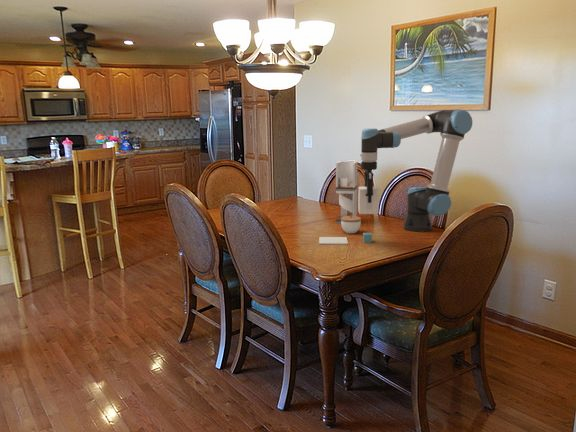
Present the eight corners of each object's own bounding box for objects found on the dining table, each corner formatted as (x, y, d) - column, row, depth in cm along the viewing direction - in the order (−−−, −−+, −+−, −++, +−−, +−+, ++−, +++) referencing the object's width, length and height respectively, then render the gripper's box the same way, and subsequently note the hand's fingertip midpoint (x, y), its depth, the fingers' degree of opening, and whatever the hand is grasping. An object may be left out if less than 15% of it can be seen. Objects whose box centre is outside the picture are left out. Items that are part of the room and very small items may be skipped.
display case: (339, 219, 284) (339, 161, 277) (356, 219, 282) (357, 161, 274) (335, 223, 274) (336, 163, 266) (353, 224, 271) (354, 163, 263)
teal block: (371, 240, 236) (371, 232, 235) (371, 242, 232) (372, 234, 231) (363, 240, 236) (363, 232, 236) (363, 242, 232) (363, 234, 232)
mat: (346, 238, 241) (346, 237, 241) (347, 244, 229) (347, 243, 229) (319, 238, 242) (319, 237, 242) (319, 244, 230) (319, 243, 230)
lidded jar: (345, 235, 247) (345, 217, 245) (337, 230, 257) (337, 213, 255) (364, 233, 250) (364, 216, 248) (356, 228, 260) (356, 212, 258)
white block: (376, 210, 235) (376, 186, 233) (378, 213, 226) (379, 189, 224) (358, 210, 236) (358, 186, 233) (359, 214, 227) (359, 189, 224)
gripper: (359, 159, 237) (358, 203, 241) (363, 163, 215) (362, 211, 220) (374, 158, 236) (373, 202, 241) (379, 163, 215) (378, 211, 220)
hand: (368, 207), depth 231 cm, fingers closed on white block, 9 cm apart
